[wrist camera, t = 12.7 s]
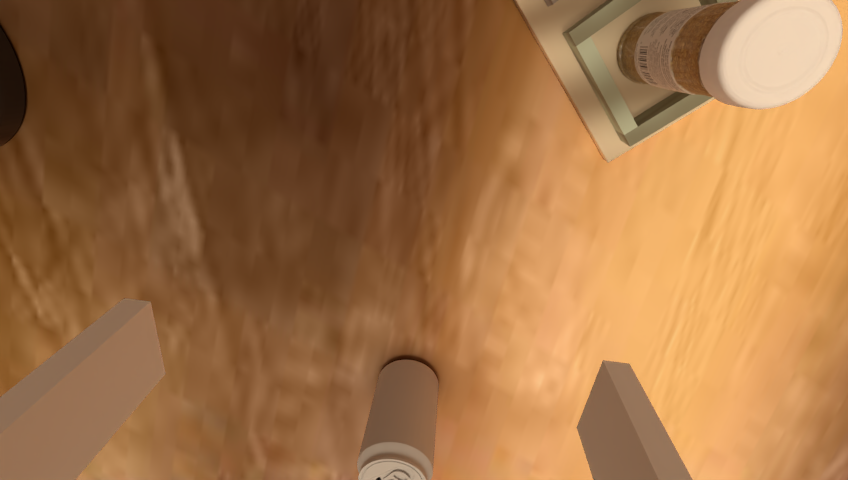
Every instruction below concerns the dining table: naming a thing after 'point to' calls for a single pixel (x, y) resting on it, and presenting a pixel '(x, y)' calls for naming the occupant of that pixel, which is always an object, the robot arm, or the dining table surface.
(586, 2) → the board
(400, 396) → the beverage can
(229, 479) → the dining table surface
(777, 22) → the sprinkles bottle
